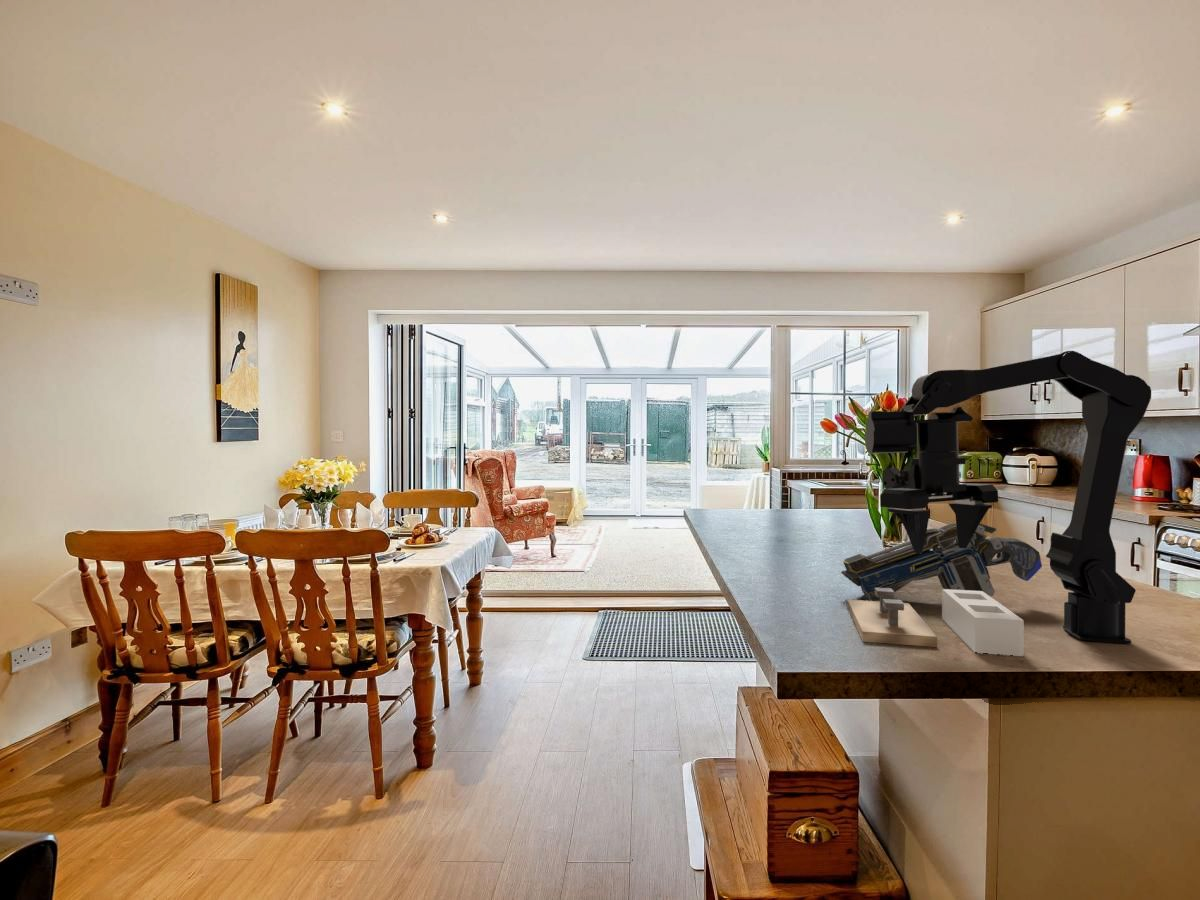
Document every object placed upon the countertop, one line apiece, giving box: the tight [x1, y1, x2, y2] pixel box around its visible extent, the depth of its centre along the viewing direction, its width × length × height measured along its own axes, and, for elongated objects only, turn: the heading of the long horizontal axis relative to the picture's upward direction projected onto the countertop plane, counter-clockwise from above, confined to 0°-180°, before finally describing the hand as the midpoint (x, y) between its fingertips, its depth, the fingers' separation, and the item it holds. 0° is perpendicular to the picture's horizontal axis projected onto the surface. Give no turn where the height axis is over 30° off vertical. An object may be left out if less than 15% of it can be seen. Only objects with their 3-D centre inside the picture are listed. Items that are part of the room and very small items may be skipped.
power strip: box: [941, 588, 1025, 657], centre depth 97 cm, size 18×6×5 cm, turn 165°
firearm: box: [840, 522, 1043, 601], centre depth 118 cm, size 8×33×15 cm, turn 78°
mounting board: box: [846, 588, 938, 648], centre depth 103 cm, size 10×20×5 cm, turn 165°
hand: (940, 550), depth 100 cm, fingers open, 9 cm apart
